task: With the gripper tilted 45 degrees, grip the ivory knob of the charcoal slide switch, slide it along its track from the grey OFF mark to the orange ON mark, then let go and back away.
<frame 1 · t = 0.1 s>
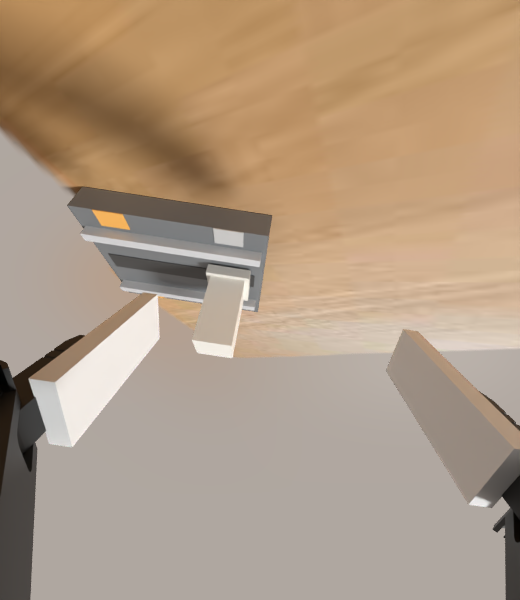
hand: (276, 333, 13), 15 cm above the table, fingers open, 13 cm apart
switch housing: (190, 252, 33), on the table
switch slider: (222, 311, 29), point 8 cm above the table, slide at 0.0 cm
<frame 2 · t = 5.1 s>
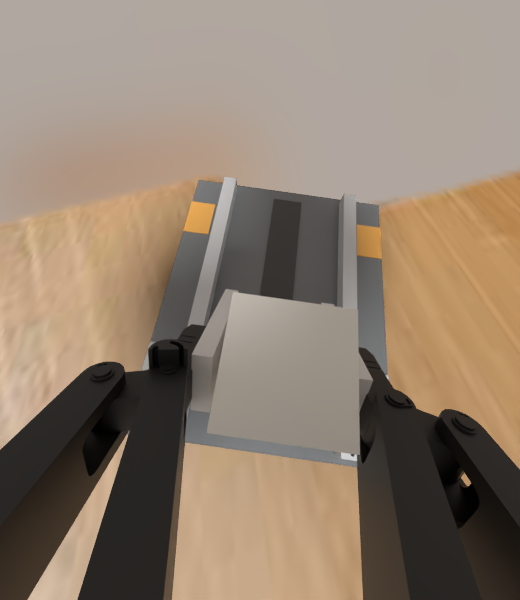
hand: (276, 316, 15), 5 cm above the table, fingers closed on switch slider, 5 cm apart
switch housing: (272, 309, 21), on the table
switch slider: (273, 376, 11), point 8 cm above the table, slide at 0.0 cm, touching gripper
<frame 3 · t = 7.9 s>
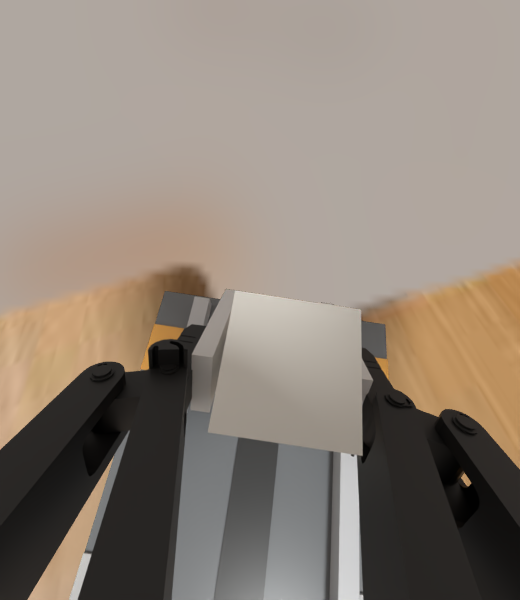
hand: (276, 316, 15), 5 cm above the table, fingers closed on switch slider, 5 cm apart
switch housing: (253, 458, 17), on the table
switch slider: (274, 376, 11), point 8 cm above the table, slide at 10.9 cm, touching gripper
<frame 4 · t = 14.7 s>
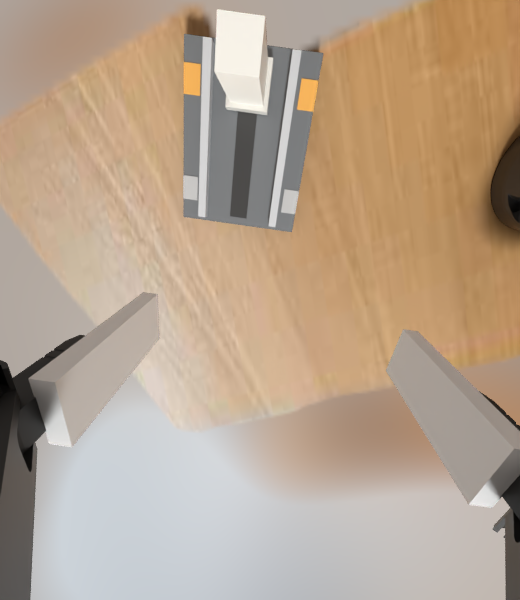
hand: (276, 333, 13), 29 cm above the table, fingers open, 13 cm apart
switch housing: (247, 149, 35), on the table
switch slider: (245, 69, 25), point 8 cm above the table, slide at 11.9 cm
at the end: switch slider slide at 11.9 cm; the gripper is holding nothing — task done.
